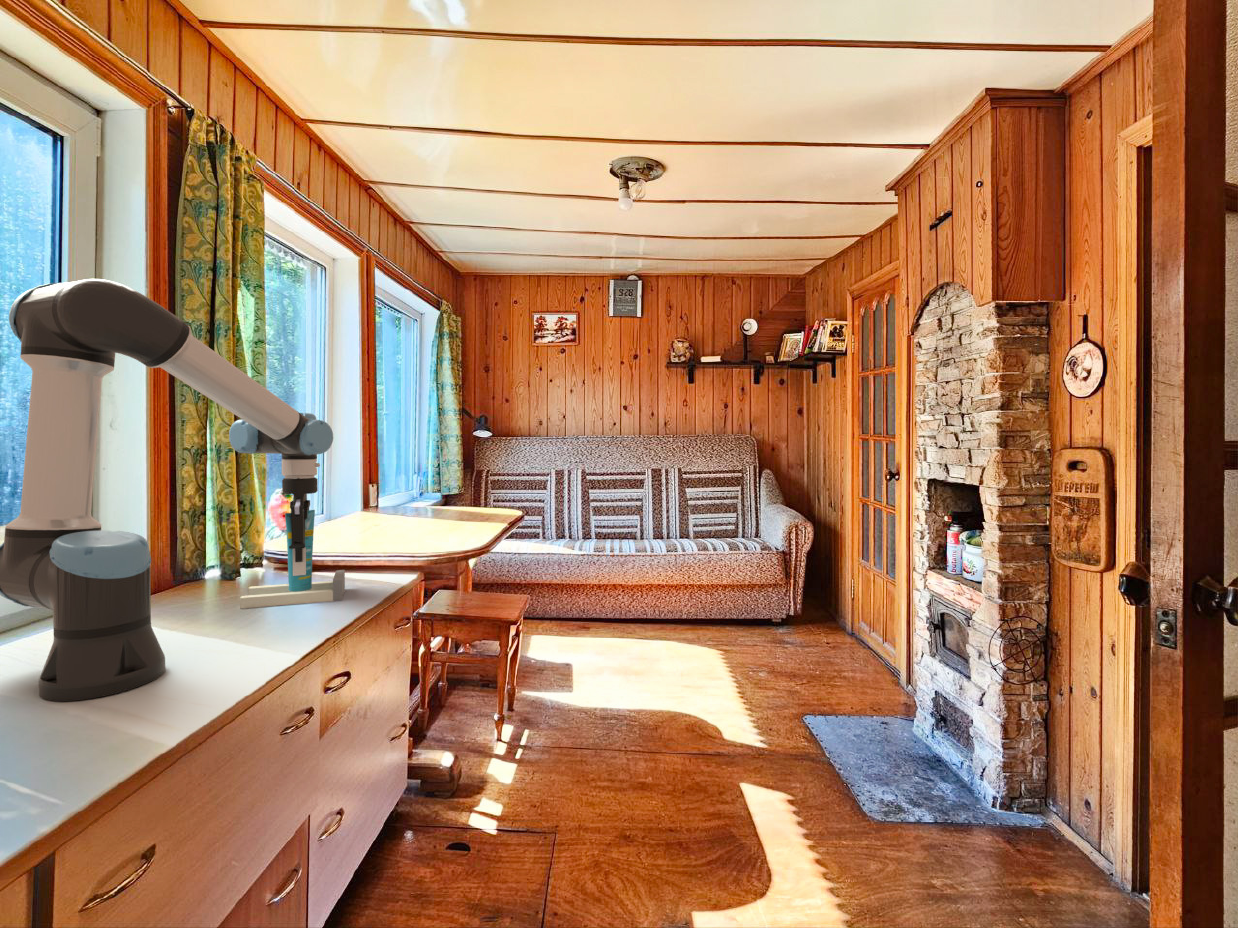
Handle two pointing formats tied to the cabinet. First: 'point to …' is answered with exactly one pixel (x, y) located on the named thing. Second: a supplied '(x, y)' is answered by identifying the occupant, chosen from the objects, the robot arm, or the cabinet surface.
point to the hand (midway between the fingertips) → (300, 572)
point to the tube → (305, 581)
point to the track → (295, 593)
